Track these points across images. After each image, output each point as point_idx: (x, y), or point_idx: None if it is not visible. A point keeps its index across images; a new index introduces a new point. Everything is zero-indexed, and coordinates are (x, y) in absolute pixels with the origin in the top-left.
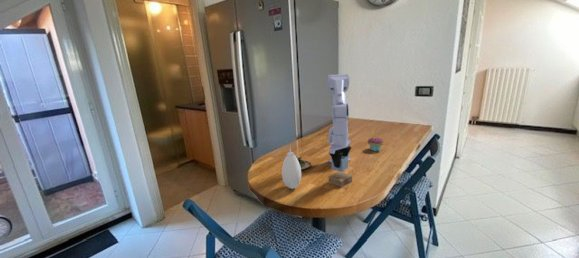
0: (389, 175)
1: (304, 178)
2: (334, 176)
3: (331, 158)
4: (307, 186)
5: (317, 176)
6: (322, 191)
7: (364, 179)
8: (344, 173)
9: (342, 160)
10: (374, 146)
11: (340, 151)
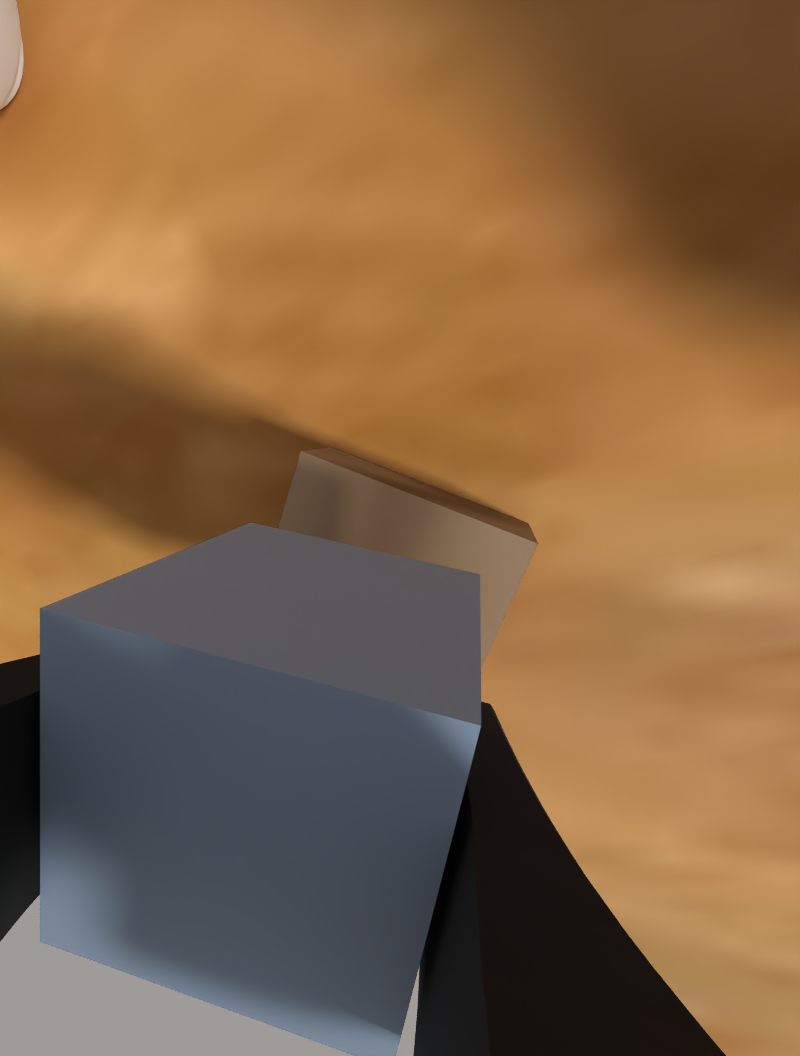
0: (761, 1043)
1: (294, 55)
2: (332, 534)
3: (54, 607)
4: (114, 240)
5: (435, 222)
6: (103, 461)
7: (558, 814)
8: (487, 641)
9: (57, 937)
10: None
11: (456, 1044)
